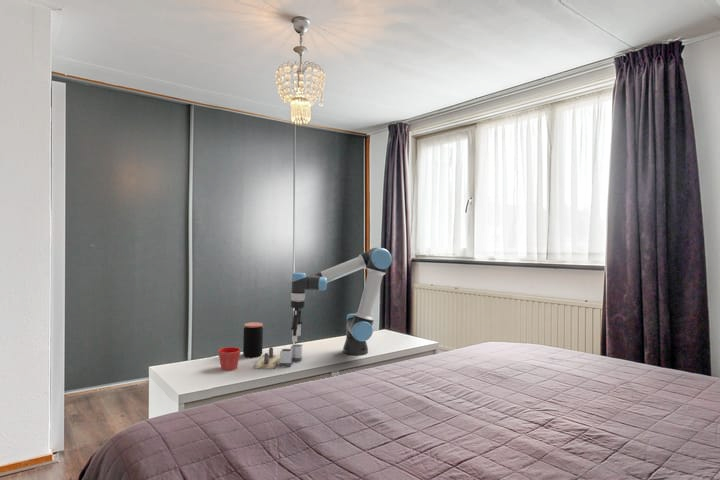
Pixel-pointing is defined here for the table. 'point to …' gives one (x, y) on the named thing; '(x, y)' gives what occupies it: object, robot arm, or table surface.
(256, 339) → the coffee jar
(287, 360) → the sleeve
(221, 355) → the flower pot
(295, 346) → the sleeve
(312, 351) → the table surface
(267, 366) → the pin board
